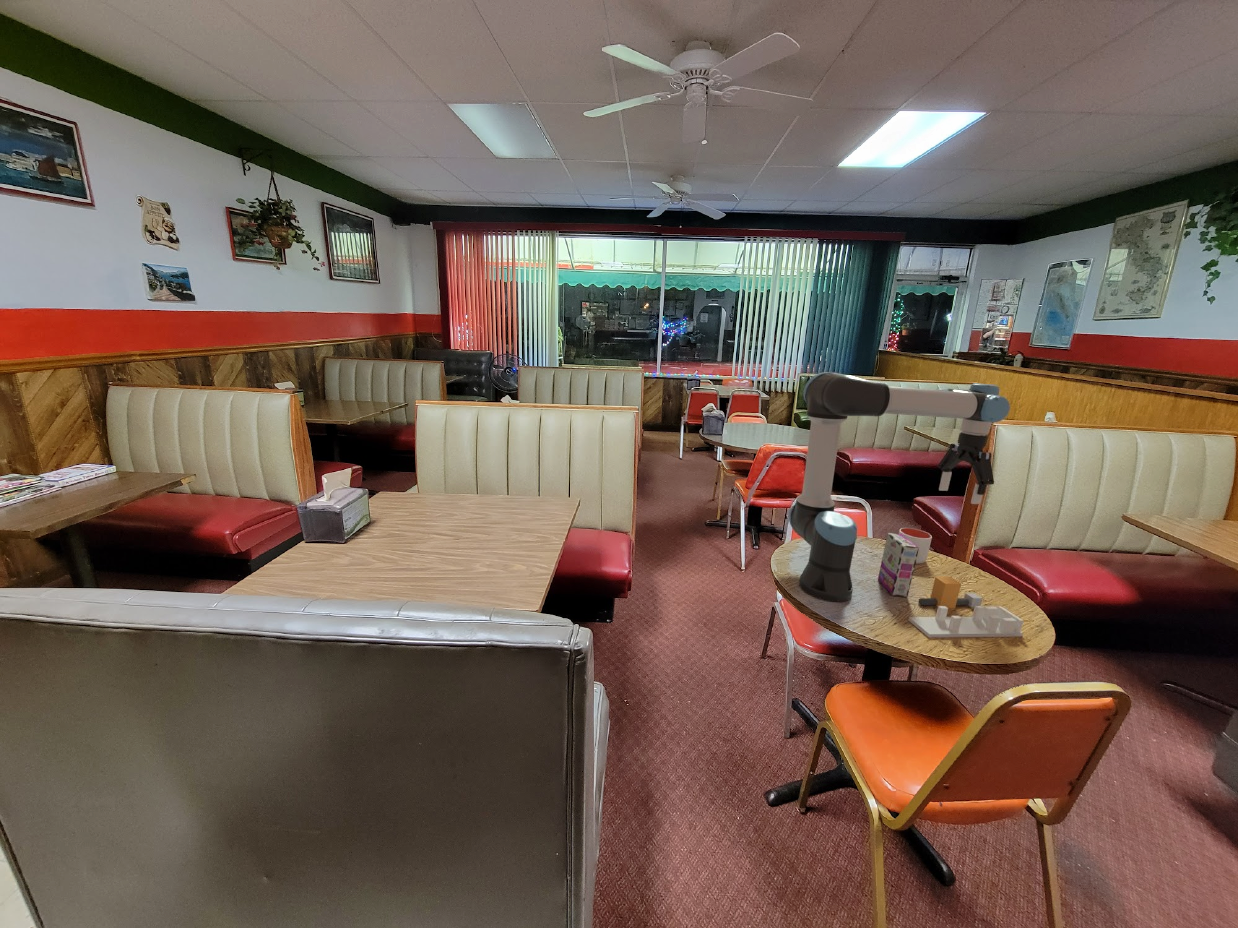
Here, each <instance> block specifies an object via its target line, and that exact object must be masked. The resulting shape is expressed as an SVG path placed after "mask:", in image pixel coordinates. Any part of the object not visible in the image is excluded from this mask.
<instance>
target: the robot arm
mask: <svg viewBox="0 0 1238 928" xmlns="http://www.w3.org/2000/svg"><path fill="white" fill-rule="evenodd" d="M803 399H804V402H805V403H806V405H807V410H806V417H807V418H808V419H809V421H810V428H809V437H808V444H807V454H806V460H805V467H804V468H805V470H804V476H803V482H802V483H803V484H802V491H801V494H800V495H798V496H797V497H796V500H795V503H794V505H792V506H791V508H790V510H789V513H788V522H789V525H790V527H791V528H792V529H793V531H794V533H796V534H797V535H798V536H799V537H800V538H801V539H803V540H804V541H805V542H806V543H808V545H809V546H810V551H809V558H808V562H807V564H806V566H805V567H804V569H803V570H802V573H801V575H800V576H799V581H798V586H799V588H800V589H801V590H802V591H803V592H804V593H806V594H807V595H809V596H811V597H813V598H816V599H818V600H821V601H827V602H834V603H841V602H846V601H849V600H850V599H851V598H852V596H853V590H854V588H853V583H852V577H851V571H850V570H851V565H852V560H853V555H854V551H855V547H856V546H855V545H856V541H857V538H858V525H857V523H856V522H855V521H854V519H853V518H851V517H849V516H848V515H845V514H842V513H840V512H837V511H835V508H836V507H835V505H836V503H835V501H834V500H833V498H832V497H831V495H832V491H833V483H834V475H835V469H836V467H835V466H836V461H837V455H838V454H837V453H838V447H839V442H840V441H839V440H840V433H841V425H842V423H844V422H845V421H847V420H848V417H877V418H878V417H879V418H880V417H881V416H883V415H884V414H886V415H887V414H888V415H889V414H890V415H905V416H916V417H917V416H919V417H933V418H934V417H936V418H948V419H949V418H950V419H962V421H961V425H960V432H959V433H958V439H957V443H950V444H949V448H948V450H947V452H946V453H945V454H944V456H943V457H942V459H941V460H940V462H939V463H938V464H937V468H939V469H940V471H941V474H940V478H939V479H940V483H939V487H938V491H943V492H944V491H946V492H947V491H948V490H949V486H950V483H951V482H950V481H951V478H952V469H954V468H955V467H956V466H957V465H959V463H961V462H966V463H969V465H971V467H972V470H973V473H974V475H975V476H974V477H975V478H976V481H977V482H975V483H974V484H975V485H974V488H973V491H972V494H971V495H972V496H971V499H970V500H971V501H970V504H972V505H981V502H982V498H983V496H984V495H985V493H986V489H987V486H990V485H994V484H995V480H994V473H993V466H992V452H985V451H984V450H983V449H984V448H985V447H987V444H988V439H989V436H988V434H990V431H991V428H992V427H991V426H992V423H999V422H1002V421H1003V420H1004V419H1005V418H1007V416H1008V415H1009V412H1010V408H1011V406H1010V405H1011V404H1010V401H1009V400H1008V399H1007V397H1004V396H1002V395H1000V387H999V386H998V385H996V384H987V383H972V384H970V387H969V388H968V389H960V388H959V389H957V388H956V389H955V388H947V387H945V388H936V389H930V388H929V389H926V388H916V387H914V388H913V387H900V386H889V385H888V383H886V382H884V381H874V380H870V379H865V378H861V377H857V376H854V375H850V374H843V373H837V372H833V371H828V372H827V371H826V372H824V371H823V372H819V373H817V374H814V375H813V376H812V377H811V378H810V379H809V380H808V381H807V382H806V383H805V386H804V388H803ZM983 451H984V452H983Z"/></svg>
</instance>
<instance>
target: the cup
mask: <svg viewBox="0 0 1238 928" xmlns="http://www.w3.org/2000/svg"><path fill="white" fill-rule="evenodd" d="M898 531H899V532H898V534H903V535H904V536H905V537H906V538H908V539H909V540H910V541H911V542H912V543H914V544H915V545H916V546H917V547H919V551H918V555H917V559H916V564H917V565H918V564H924V563H926V562H927V560H928V556H929V552H930V551H929V550H930V546H931V542H932V539H933V537H932V535H931V534H930V533H929V532H926V531H924V530H920V529H919V528H918V529H917V528H911V527H901V528H900V529H899V530H898ZM916 564H915V565H916Z"/></svg>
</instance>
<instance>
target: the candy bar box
mask: <svg viewBox="0 0 1238 928" xmlns="http://www.w3.org/2000/svg"><path fill="white" fill-rule="evenodd" d="M918 551H919V547H917V546H916V545H915V544H914V543H912V542H911V541H910V540H909V539H908V538H906V537H905V536H904V535H903V534H899V533H892V532H887V535H886V539H885V544H884V549H883V554H882V559H881V563H880V568H879V572H878V577H877V579H878V581H879V582H880V584H882V585H883V587H884V588H885V589H886V590H887V591H888V592H889V594H891V596H894V597H904V598H908V597H909V593H910V588H911V584H912V580H913V579H912V578H913V577H914V571H915V567H916V559H917V555H918Z"/></svg>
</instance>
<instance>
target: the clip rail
mask: <svg viewBox="0 0 1238 928" xmlns="http://www.w3.org/2000/svg"><path fill="white" fill-rule="evenodd" d="M973 608H974V609H973V613H972V616H960V615H951V616H947V614H948V611H949V608H947V607H946V606H938V607H937V611H936V614H935V616H912V617H911V616H909V617H908V622H910V623H911V624H912V625H913V626H914V627H916V628H917V629H918V630H919V631H920V632H922V634H924V635H925V636H926V637H927V638H932V639H933V638H1000V637H1001V638H1003V637H1005V638H1006V637H1007V638H1009V637H1011V638H1012V637H1023V635H1024V632H1022V628H1023V624H1024V620H1023V619H1022V618H1020V617H1018V616H1017V615H1016V614H1014V613H1012V612H1010V611H1009V610H1008V609H1006V608H1004V607H1003V606H982V605H981V606H975V607H973Z"/></svg>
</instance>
